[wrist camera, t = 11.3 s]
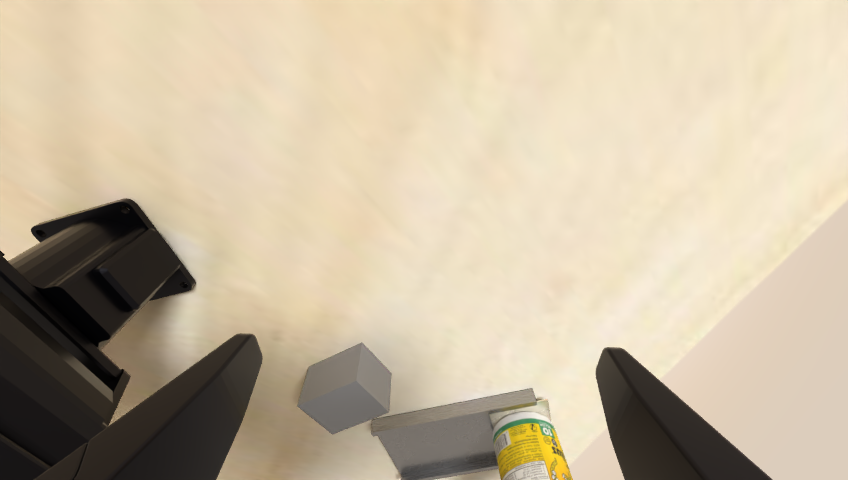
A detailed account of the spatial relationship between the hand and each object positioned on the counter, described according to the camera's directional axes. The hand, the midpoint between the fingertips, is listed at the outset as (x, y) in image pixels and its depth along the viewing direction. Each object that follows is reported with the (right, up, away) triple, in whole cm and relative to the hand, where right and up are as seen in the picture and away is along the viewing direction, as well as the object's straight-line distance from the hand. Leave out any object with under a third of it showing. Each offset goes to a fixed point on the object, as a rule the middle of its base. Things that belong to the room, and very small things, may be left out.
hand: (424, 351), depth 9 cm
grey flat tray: (+3, -15, +24) cm, 28 cm away
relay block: (-6, -7, +19) cm, 21 cm away
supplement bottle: (+9, -14, +23) cm, 28 cm away
